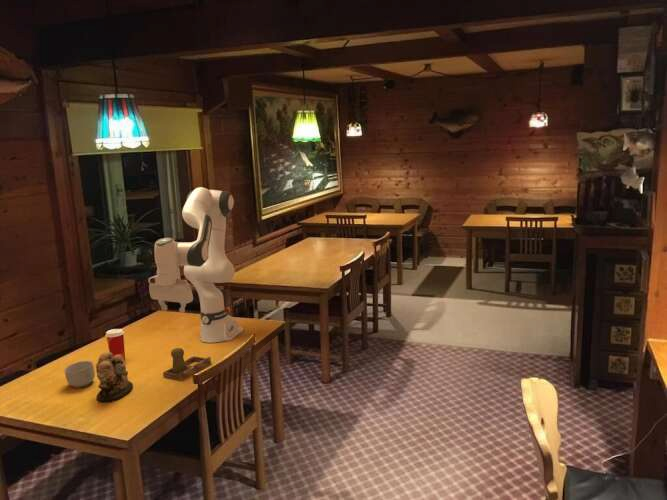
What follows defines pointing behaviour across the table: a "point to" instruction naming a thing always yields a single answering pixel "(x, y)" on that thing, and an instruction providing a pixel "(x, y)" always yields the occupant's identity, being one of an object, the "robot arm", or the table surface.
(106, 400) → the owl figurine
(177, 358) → the cork
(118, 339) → the paper cup
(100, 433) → the table surface
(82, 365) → the teacup
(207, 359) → the wooden divided frame
